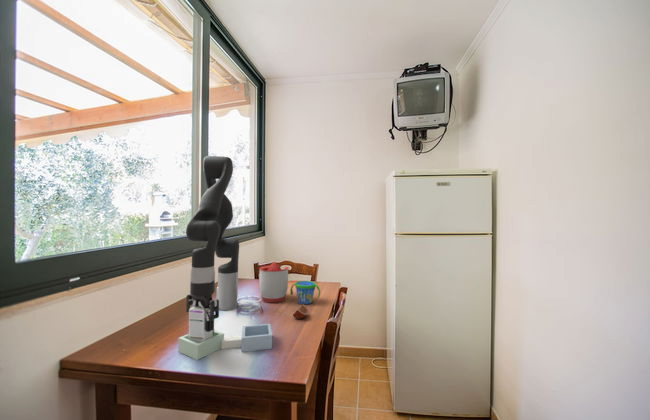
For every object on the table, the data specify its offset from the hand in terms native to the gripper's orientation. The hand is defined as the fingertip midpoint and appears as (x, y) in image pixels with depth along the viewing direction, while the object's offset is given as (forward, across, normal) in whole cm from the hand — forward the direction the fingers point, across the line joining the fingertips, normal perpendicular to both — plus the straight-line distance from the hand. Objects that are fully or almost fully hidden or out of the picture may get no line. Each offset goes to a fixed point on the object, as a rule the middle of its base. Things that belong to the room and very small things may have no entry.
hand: (201, 328), depth 91 cm
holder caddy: (+7, +6, +6) cm, 11 cm away
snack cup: (+7, +2, +58) cm, 59 cm away
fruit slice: (+7, +12, +40) cm, 43 cm away
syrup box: (+7, 0, 0) cm, 7 cm away
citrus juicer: (+7, -15, +54) cm, 57 cm away
